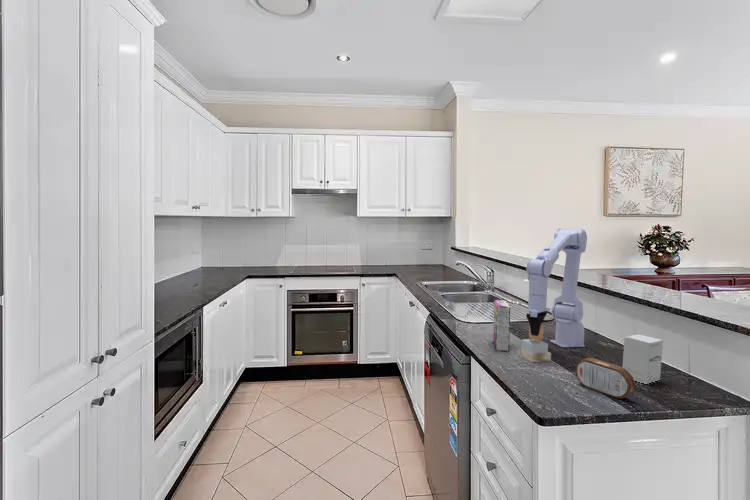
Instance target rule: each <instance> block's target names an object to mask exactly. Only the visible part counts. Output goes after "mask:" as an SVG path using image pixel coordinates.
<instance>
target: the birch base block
mask: <svg viewBox="0 0 750 500" xmlns="http://www.w3.org/2000/svg"><path fill="white" fill-rule="evenodd" d="M520 356H521V357H524V358H525V359H526V360H528V361H529V362H531V363H535V362H536V363H540V362H551V361H552V353H551V352H550V351H548V353H534V354H531V353H530V352H528V351H526V350H524V349H523V348H522V347H520Z"/></svg>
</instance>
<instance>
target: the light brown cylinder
mask: <svg viewBox="0 0 750 500" xmlns="http://www.w3.org/2000/svg"><path fill="white" fill-rule="evenodd" d="M544 326H545V325H544V322H543V323H541V326H540V331H539V335H538V336H534V335H531V330H530V325H529V326H528V327H529V328H528V338H529V339H535V340H541V341H542V340H543V339H544V328H545V327H544Z"/></svg>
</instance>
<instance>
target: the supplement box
mask: <svg viewBox="0 0 750 500" xmlns="http://www.w3.org/2000/svg"><path fill="white" fill-rule="evenodd" d="M623 339H624V340H623V341H624V342H623V354H622V366H621V367H622V368H624V369H626V370H627V371H628V372H629V373H630V374H631V375H632V377H633V379H634V382H635V381H637V382H636V383H638V382H640V383H639V384H641V383H644V384H648V385H650V384H649V383H651V382H654V383H656V382H655V381H658V380H661V371H662V369H661V368H662V358H663V357H662V356H663V347H664V346H663V344H664V341H663V340H664V339H660V338H656V337H652V336H648V335H643V334H638V333H637V334H633V335H628V336H624V338H623ZM658 382H659V381H658ZM651 384H652V383H651Z"/></svg>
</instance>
